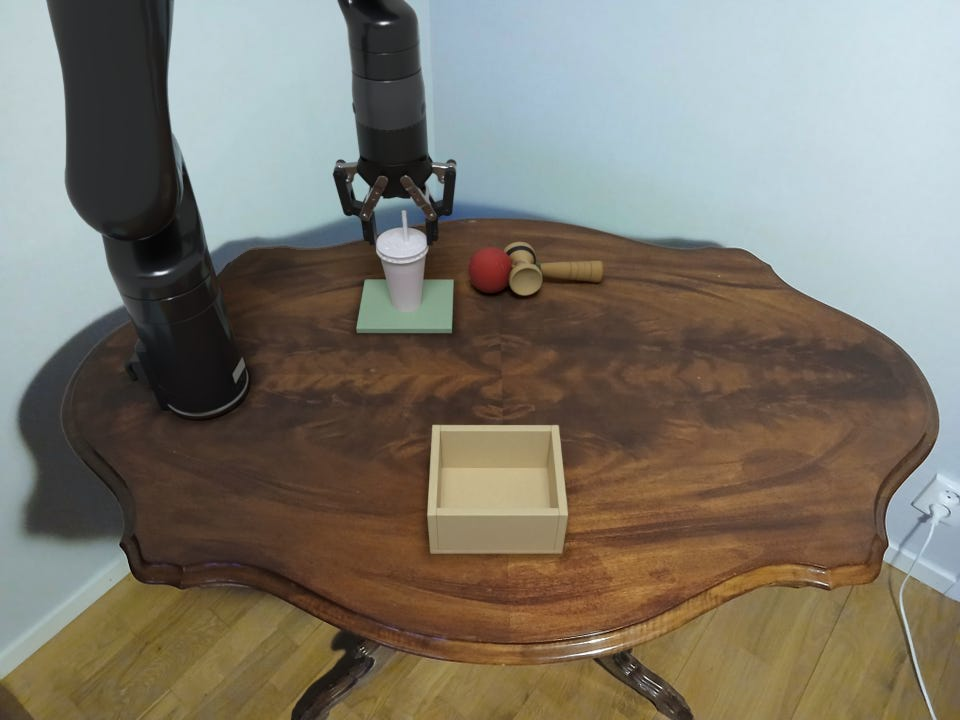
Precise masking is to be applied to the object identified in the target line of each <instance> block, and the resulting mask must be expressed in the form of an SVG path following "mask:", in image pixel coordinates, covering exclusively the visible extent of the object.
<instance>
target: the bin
mask: <svg viewBox="0 0 960 720" xmlns="http://www.w3.org/2000/svg"><path fill="white" fill-rule="evenodd" d="M560 434H561V433H560V425H559V424H432V426H431V441H430V442H431V443H430V461H429V478H428V479H429V480H428V494H427V495H428V496H427V510H426V511H427V513H426V517H427V530H428V543H429V552H430V553H429V554H430V555H431V554H432V555H434V554H435V555H436V554H440V555H441V554H444V555H445V554H449V555H451V554H453V555H455V554H460V555H461V554H462V555H463V554H464V555H465V554H467V555H468V554H469V555H471V554H474V555H475V554H476V555H477V554H478V555H479V554H482V555H483V554H485V555H486V554H488V555H489V554H490V555H491V554H492V555H493V554H494V555H495V554H500V555H501V554H504V555H505V554H509V555H510V554H512V555H513V554H515V555H519V554H523V555H524V554H525V555H527V554H528V555H529V554H530V555H531V554H533V555H534V554H537V555H539V554H541V555H542V554H544V555H545V554H547V555H548V554H550V555H552V554H554V555H555V554H557V555H562V554H563V551H564V545H565V538H566V531H567V525H568V519H569V509H568V500H567V499H568V498H567V489H566V480H565V473H564V462H563V452H562V442H561V435H560Z"/></svg>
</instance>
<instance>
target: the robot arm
mask: <svg viewBox="0 0 960 720" xmlns="http://www.w3.org/2000/svg"><path fill="white" fill-rule="evenodd" d="M45 1H46V5H47V6H46V7H47V12H48V16H49V19H50V24H51V29H52V33H53V37H54V41H55V46H56V50H57V54H58V60H59V65H60V69H61V76H62V83H63V95H64V116H65V118H64V119H65V121H64V122H65V167H64V188H65V192H66V195H67V198H68V199H69V202H70V204H71V206H72V207H73V209H74V210H75V211H76V214H77V215H78V216H79V217H80V218H81V219H82V221H84V222H85V224H86V225H88V226H89V227H90V228H91V229H93V230H94V231H96V232H97V233H99V234H100V235H101V238H102V239H101V240H102V243H103V244H102V245H103V248H104V253H105V259H106V264H107V268H108V271H109V273H110V276H111V277H112V280H113V282H114V284H115V287H116V289H117V291H118V294H119V296H120V298H121V300H122V302H123V305H124V308H125V309H126V312H127V314H128V316H129V318H130V321H131V323H132V325H133V327H134V330H135V332H136V334H137V337H138V339H137V341H136V343H135V345H134V352H133V354H132V356H131V357H130V358H128V359H127V360H126V361H125V363H124V370H125V372H126V373H127V375H128V376H129V378H130V379H131V380H137V379H138V381H139V382H148V383H149V385H150V388H151V391H152V392H153V394H154V396H155V398H156V401H157V403H158V405H159V407H160V410H163V411H165V410H166V411H167V410H168V411H170V412H172V414H174V415H175V416H177V417H179V418H182V419H184V420H190V421H204V420H211V419H215V418H217V417H220V416H223V415H225V414H227V413H229V412H231V411H232V410H234V409H235V408H236V407H238V406H239V405H240V404H241V403H242V402H243V401H244V399H245V398H246V396H247V394H248V392H249V390H250V386H251V382H250V376H249V373H248V370H247V368H246V364H245V360H244V358H243V355H242V353H241V350H240V346H239V343H238V340H237V337H236V334H235V331H234V328H233V324H232V321H231V318H230V315H229V312H228V308H227V306H226V302H225V299H224V296H223V292H222V289H221V287H220V282H219V280H218V277H217V273H216V270H215V268H214V264H213V260H212V256H211V254H210V250H209V247H208V242H207V238H206V233H205V229H204V224H203V219H202V216H201V212H200V209H199V206H198V202H197V199H196V195H195V193H194V188H193V185H192V182H191V178H190V175H189V171H188V168H187V165H186V161H185V158H184V155H183V152H182V149H181V146H180V144H179V142H178V139H177V138H176V136H175V134H174V133H173V131H172V130H173V128H172V121H171V111H170V101H169V67H170V58H171V57H170V56H171V46H172V36H173V26H174V13H175V12H174V11H175V0H45ZM336 2H337V4H338V7H339V10H340V12H341V14H342V16H343V19H344V22H345V25H346V33H347V42H348V50H349V59H350V67H351V97H352V103H351V106H352V112H353V114H354V121H355V130H356V138H357V146H358V147H357V148H358V154H359V157H358V160H357V161H353V162H347V161H346V160H345V159H341V158H340V159H337V160H336V162H335V164H334V167H333V172H332V177H333V182H334V185H335V187H336V192H337V195H338V198H339V201H340V202H339V203H340V206H341V209H342V212H343V214H344V215H345V216H346V217H352V216H355V217H358V219H359V220H360V222H361V229H362V238H363V241H364V242H368V244H369V246H370V247H376V241H377V238H378V230H377V221H376V214H375V213H376V212H375V208H376V207H377V205H378V203H379V201H380V199H381V197H382V199H383V200H385V199H386V200H391V199H396V198H399V199H405V200H411V199H412V201H413V202H414V203H415V205H416V206H417V208H419V209H420V210H421V211H422V213H423V214H424V216H425V221H424V222H425V235H426V240H427V246H429V247H433V246H434V242H437V241H438V239H439V234H440V233H439V231H440V229H439V218H441V217H443V216H444V217H449V216H451V215H452V214H453V209H454V198H455V190H456V181H457V167H458V165H457V164H458V163H457V161H456V160H455V159H452V158H449V159H448V160H446V162H438V161H433V159H432V157H431V156H430V152H429V144H428V143H429V142H428V141H429V140H428V139H429V138H428V127H427V126H428V123H427V122H428V120H427V102H426V87H425V86H426V85H425V81H424V80H425V79H424V76H423V70H422V51H421V35H420V25H419V18H418V16H417V13H416V11H415V9H414V8H413V7H412V6H411V5H410V4H409V3H408V2H407V1H405V0H336ZM356 174H357V175H358V176H359V177H360V178H361V179H362V180H363V181H364V182H365V183H366V184H367V185H368V189H367V191H366V194H365V196H364V198H363V200H358V199H357V198H356V194H355V191H354V187H353V182H354V181H355V176H356ZM433 174H434V175H435V176H436V178H437V181H438V183H440V184H441V185H443V192H442V199H439V200H436V199H435V198H434V196H433V194H432V192H431V190H430V187H429V186H428V183H427V181H428V180H429V179H430V178H431V176H432V175H433Z"/></svg>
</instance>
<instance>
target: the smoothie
mask: <svg viewBox="0 0 960 720" xmlns="http://www.w3.org/2000/svg"><path fill="white" fill-rule="evenodd" d="M407 216H408V214H407V210H406V209H402V210H401V221H402V227H401V226H400V227H394V228H391V229H387V230H385V231H384V232H382V233H381V234H380V235H379V236H377V241H376V246H375V252H376V254H377V256H378V257H379V258H380V261H381V265H382V268H383V269H382V270H383V272H384V276H385V279H386V280H387V284H388V288H389V292H390V296H391V299H392V303H393V307H394V308H395V309H396V310H398V311H400V312H412V311H415V310H417V309H418V308H419V307H420V306H421V300H422V289H423V280H424V276H425V267H426V266H425V265H426V255H427V253H428V252H429V247H430V246H427V240H426V233H424V232H423V231H421V230H419V229H416V228H412V227H409V226H408V217H407Z"/></svg>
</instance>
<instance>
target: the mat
mask: <svg viewBox="0 0 960 720" xmlns="http://www.w3.org/2000/svg"><path fill="white" fill-rule="evenodd" d="M454 287H455V280H454V279H423V289H422V300H421V306H420V307H419V308H418V309H417V310H415V311H412V312H400V311H398V310H396V309H395V308H394V307H393V303H392V299H391V296H390V292H389V288H388V284H387V280H386V278H385V279H381V278H379V279H375V278H374V279H372V278H371V279H370V278H369V279H365V278H364V283H363V288H362V294H361V299H360V305H359V311H358V316H357V321H356V334H453V319H454V318H453V315H454V290H455V289H454Z"/></svg>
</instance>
